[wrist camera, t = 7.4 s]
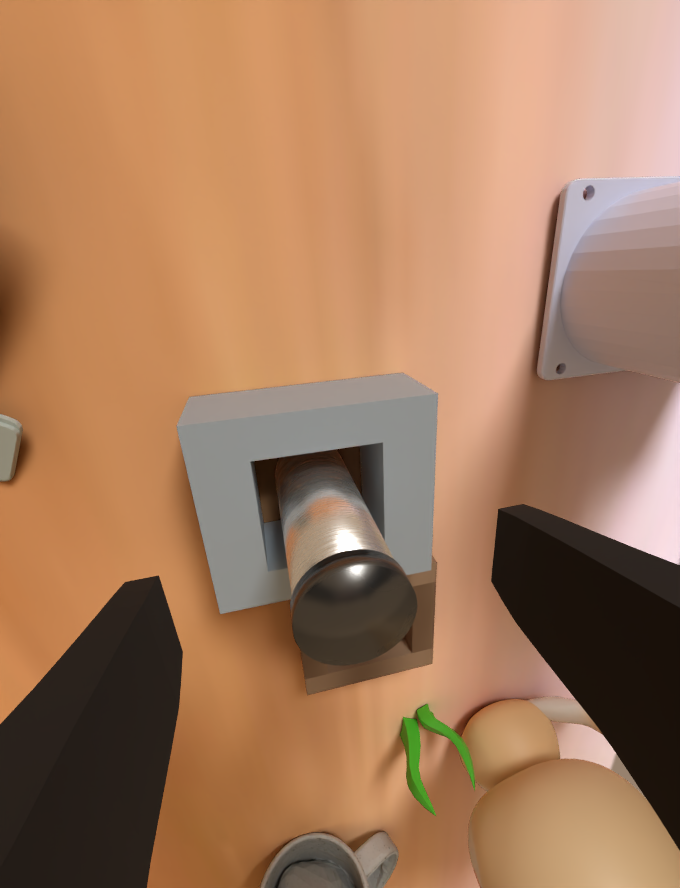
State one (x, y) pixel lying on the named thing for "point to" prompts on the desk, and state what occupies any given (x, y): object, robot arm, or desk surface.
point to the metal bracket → (9, 446)
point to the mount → (400, 658)
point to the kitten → (547, 804)
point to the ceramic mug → (332, 863)
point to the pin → (338, 565)
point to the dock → (300, 432)
